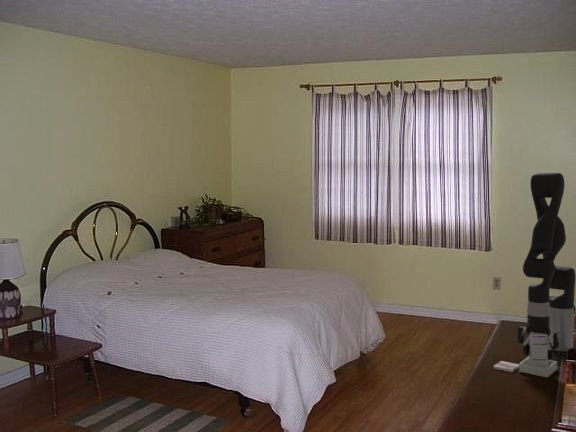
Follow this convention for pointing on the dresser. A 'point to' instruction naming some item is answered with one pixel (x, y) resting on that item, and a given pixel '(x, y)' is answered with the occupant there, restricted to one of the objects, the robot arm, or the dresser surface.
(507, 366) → the pad
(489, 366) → the dresser surface
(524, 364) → the bin
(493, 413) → the dresser surface
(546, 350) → the syrup box
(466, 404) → the dresser surface
